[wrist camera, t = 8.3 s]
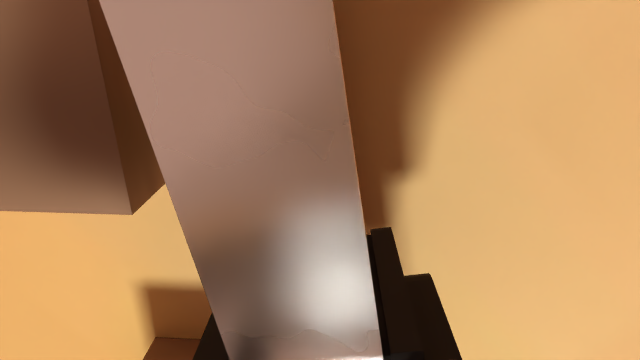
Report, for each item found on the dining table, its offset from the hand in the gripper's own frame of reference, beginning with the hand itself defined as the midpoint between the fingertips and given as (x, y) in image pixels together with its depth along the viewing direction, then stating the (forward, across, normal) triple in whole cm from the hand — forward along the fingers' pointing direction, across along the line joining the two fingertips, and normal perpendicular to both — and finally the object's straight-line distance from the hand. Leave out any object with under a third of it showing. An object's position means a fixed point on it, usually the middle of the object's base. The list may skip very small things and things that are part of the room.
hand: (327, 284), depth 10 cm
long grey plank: (+1, 0, 0) cm, 1 cm away
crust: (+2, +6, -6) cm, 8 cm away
